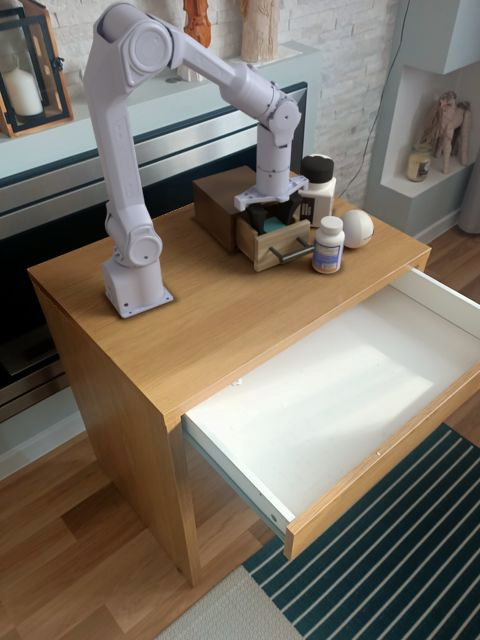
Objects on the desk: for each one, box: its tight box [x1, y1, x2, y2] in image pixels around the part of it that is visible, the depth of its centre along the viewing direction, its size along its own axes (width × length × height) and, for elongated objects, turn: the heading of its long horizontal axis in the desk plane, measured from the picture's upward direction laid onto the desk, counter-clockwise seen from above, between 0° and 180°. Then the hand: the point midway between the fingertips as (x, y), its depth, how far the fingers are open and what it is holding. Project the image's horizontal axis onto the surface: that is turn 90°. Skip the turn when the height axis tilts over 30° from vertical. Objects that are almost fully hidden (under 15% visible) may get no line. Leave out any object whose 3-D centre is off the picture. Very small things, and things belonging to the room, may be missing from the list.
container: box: [294, 153, 337, 229], centre depth 112 cm, size 8×8×13 cm
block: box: [263, 217, 286, 234], centre depth 104 cm, size 4×4×4 cm
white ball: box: [339, 209, 375, 249], centre depth 108 cm, size 10×7×7 cm
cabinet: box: [192, 165, 278, 254], centre depth 111 cm, size 15×13×9 cm
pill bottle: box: [311, 215, 345, 275], centre depth 102 cm, size 5×5×10 cm
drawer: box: [234, 203, 315, 273], centre depth 104 cm, size 18×11×7 cm, turn 33°
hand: (270, 232), depth 104 cm, fingers open, 5 cm apart
